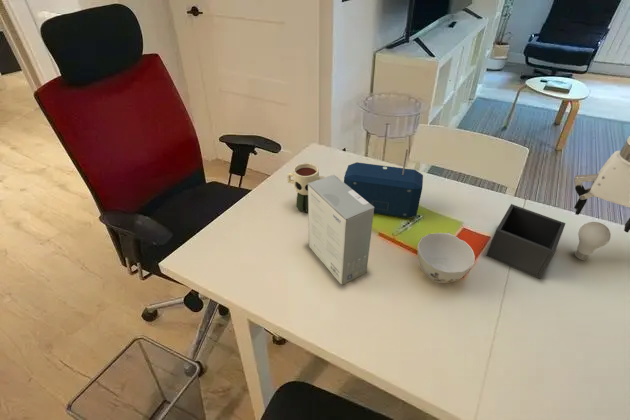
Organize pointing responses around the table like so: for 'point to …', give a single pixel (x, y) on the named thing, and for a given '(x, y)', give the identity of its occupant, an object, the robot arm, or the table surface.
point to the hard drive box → (339, 227)
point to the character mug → (303, 182)
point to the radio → (387, 187)
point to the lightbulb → (591, 238)
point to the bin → (525, 240)
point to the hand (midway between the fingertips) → (601, 220)
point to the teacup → (444, 257)
